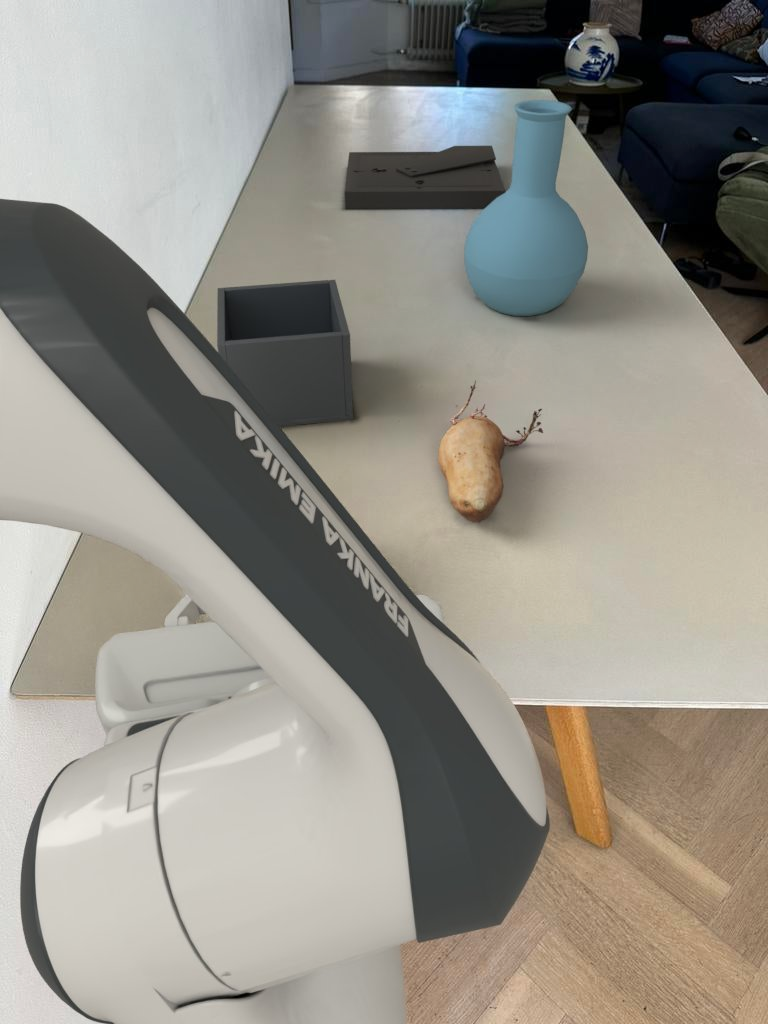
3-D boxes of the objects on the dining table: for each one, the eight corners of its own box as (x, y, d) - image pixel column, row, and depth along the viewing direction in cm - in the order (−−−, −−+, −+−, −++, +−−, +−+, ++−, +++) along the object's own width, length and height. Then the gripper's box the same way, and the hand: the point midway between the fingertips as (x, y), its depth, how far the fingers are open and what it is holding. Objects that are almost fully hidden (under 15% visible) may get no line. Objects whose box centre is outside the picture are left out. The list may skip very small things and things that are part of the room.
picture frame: (490, 167, 153) (349, 168, 154) (491, 145, 151) (348, 146, 151) (504, 208, 136) (345, 209, 136) (506, 184, 133) (344, 184, 133)
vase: (476, 332, 101) (493, 128, 84) (449, 280, 113) (460, 92, 97) (595, 323, 103) (635, 121, 86) (556, 272, 115) (584, 87, 99)
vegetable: (575, 517, 68) (533, 432, 63) (463, 557, 72) (415, 480, 67) (554, 426, 81) (518, 348, 75) (460, 464, 84) (419, 392, 79)
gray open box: (231, 431, 84) (216, 345, 77) (230, 369, 94) (217, 287, 87) (353, 419, 85) (350, 334, 79) (339, 359, 96) (335, 279, 89)
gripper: (484, 699, 39) (429, 521, 49) (68, 760, 36) (102, 560, 47) (476, 766, 43) (426, 589, 53) (102, 824, 40) (126, 627, 51)
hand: (272, 576), depth 50 cm, fingers open, 8 cm apart
